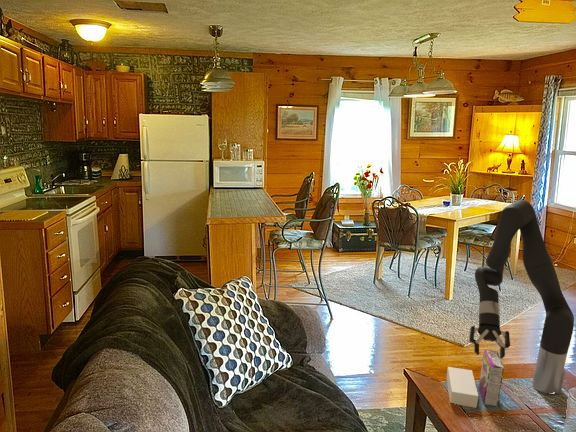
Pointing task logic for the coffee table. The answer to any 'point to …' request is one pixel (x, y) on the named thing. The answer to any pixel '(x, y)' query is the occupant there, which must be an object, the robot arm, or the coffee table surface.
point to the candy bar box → (491, 377)
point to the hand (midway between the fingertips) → (489, 356)
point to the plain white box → (462, 387)
